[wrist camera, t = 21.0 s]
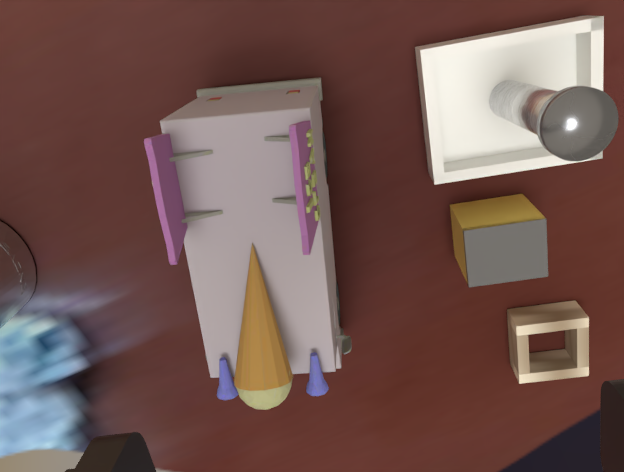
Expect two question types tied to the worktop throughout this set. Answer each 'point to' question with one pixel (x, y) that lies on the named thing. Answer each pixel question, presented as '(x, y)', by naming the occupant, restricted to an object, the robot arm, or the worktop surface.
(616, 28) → the worktop surface
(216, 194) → the toy vehicle
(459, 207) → the block
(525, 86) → the pin
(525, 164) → the tray
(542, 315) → the holder
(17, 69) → the worktop surface
